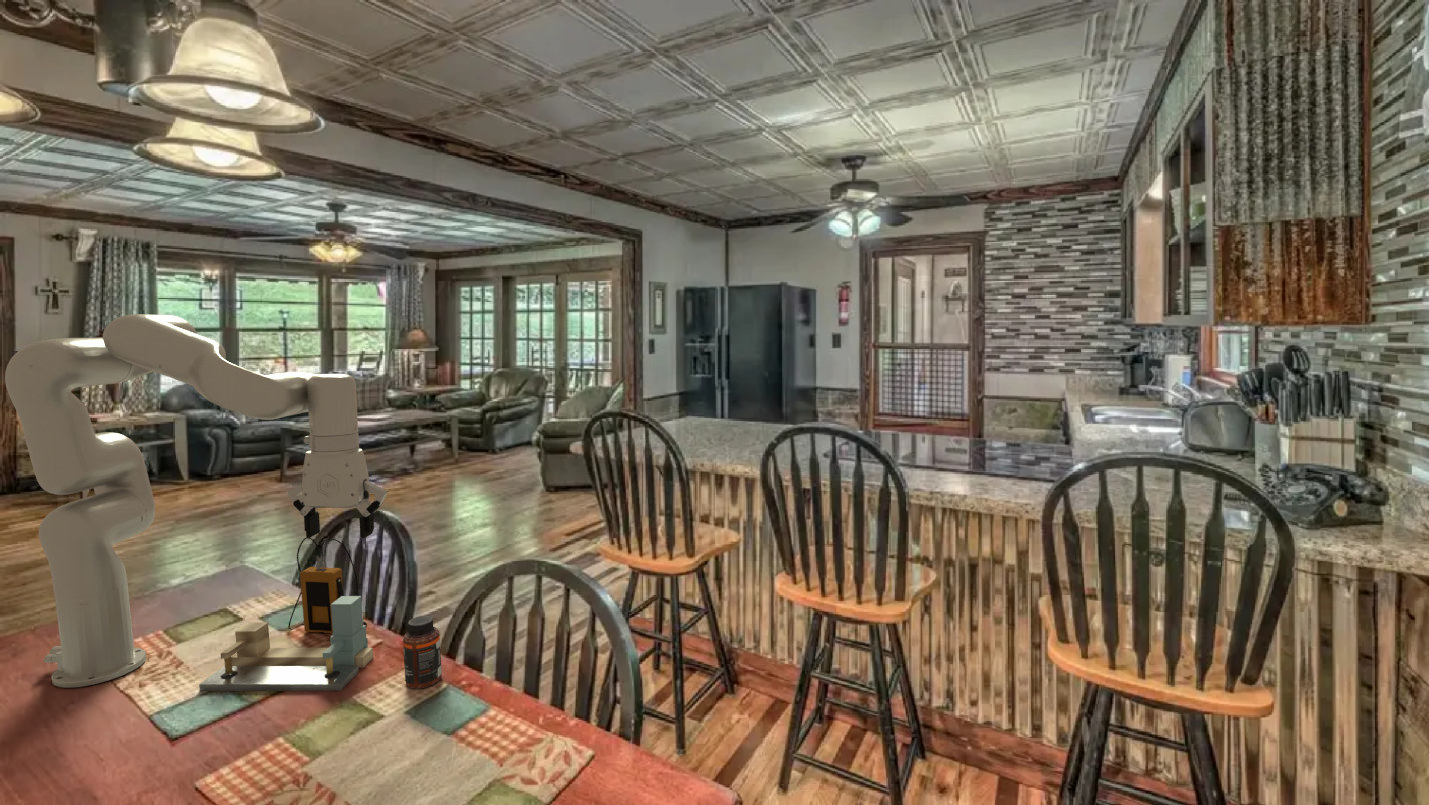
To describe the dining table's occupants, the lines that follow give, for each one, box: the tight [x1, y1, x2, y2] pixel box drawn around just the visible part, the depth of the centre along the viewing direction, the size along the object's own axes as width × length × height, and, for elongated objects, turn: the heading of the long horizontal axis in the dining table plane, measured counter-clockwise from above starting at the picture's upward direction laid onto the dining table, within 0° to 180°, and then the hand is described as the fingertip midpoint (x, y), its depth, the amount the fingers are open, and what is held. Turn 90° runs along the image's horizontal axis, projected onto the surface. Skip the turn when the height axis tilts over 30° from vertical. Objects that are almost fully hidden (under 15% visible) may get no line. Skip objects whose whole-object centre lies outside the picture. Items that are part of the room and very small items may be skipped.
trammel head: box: [323, 595, 369, 674], centre depth 120 cm, size 4×10×12 cm, turn 1°
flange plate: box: [198, 665, 360, 692], centre depth 117 cm, size 24×6×1 cm, turn 91°
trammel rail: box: [220, 622, 374, 674], centre depth 120 cm, size 24×9×7 cm, turn 91°
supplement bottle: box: [402, 615, 443, 689], centre depth 116 cm, size 6×6×11 cm
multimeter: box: [287, 536, 368, 635], centre depth 138 cm, size 15×10×20 cm
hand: (340, 535), depth 121 cm, fingers open, 9 cm apart
